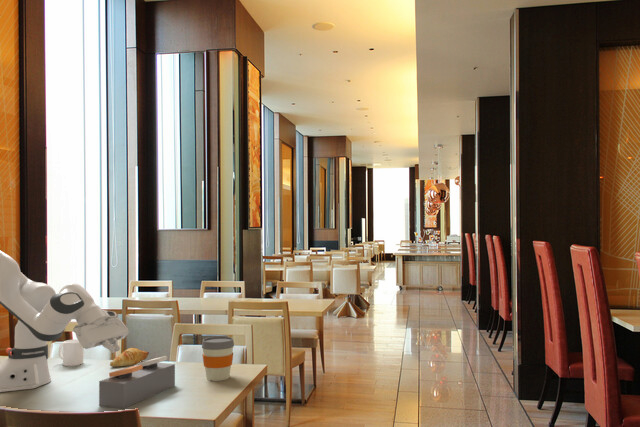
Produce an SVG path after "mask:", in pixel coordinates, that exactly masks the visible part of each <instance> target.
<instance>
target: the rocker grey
mask: <svg viewBox="0 0 640 427" xmlns="http://www.w3.org/2000/svg"><path fill="white" fill-rule="evenodd" d="M167 360H168V356H167V355H164V356H160V357H156V358H152V359H151V358H150V359H148V360H143V361H141V362H140V363H138V364H135V365H137V366H138V365H142V366H147V365H151V364H155V363H163V362H164V361H167Z"/></svg>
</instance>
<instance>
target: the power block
mask: <svg viewBox="0 0 640 427" xmlns="http://www.w3.org/2000/svg"><path fill="white" fill-rule="evenodd" d="M142 367H143V369H141V370H138V371H135V372H132V373H127V374H122V375H118V376H113V377H110V376H109V377H106V378H105V379H101V380H100V381H99V382H98V384H99V386H98V389H99V390H98V395H99V396H98V401H99V402H98V406H100V407H109V408H116V409H117V408H118V409H126V408H128V407H131V406H133V405H135V404H137V403H139V402H142V401H144V400H146V399H148V398H150V397H153V396H155V395H158V394H159V393H161V392H164V391H166V390H168V389H170V388H173V387H175V386H176V370H175V369H176V364H175V363H168V362H167V363H166V362H159V363H155V364H151V365H147V366H142Z"/></svg>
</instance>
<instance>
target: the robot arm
mask: <svg viewBox="0 0 640 427" xmlns="http://www.w3.org/2000/svg"><path fill="white" fill-rule="evenodd" d="M0 306H2V307H3V308H4V309H6V310H7V311H8V312H9V313H10V314H11V315H12V316H13V317H14V318H16V319H17V323H16V325H15V327H14V347H13V348H11V347H7V348H6V354H8V358H7V359H6V360H5V361H3V362H2V363H1V364H0V393H3V392H12V391H13V392H14V391H22V390H31V389H36V388H38V387H41V386H43V385H47V384H49V383H50V382H52V378H51V375H50V370H49V362H48V360H49V345H48V342H53V341H57V340H59V339H60V338H61V337H62V335H63V333H64V331H65V330H66V328H67V326H68V325H69V323H70V322H71V320H75V321H76V323H77V324H76V325H74V327H73V330H72V331H73V332H74V334H75V337H76V339H78V341H79V342H80V344H81V346H82V347H83V348H84V349H85V350H89V349H93V348H96V347H101V346H102V347H104V348H105V349H106V350H108V351H109V352H110V353H112V354H113V353H116V352H119V351H120V349H121V347H120V346H119V343H118V341H120V340H123V339H125V338H126V337H127V336H128V335H129V332H130V331H129V328H128V326H126V325H125V323H124V322H123V321H122V319H121V318H119V317H117V316H118V314H117V312H116V311H111V310H106V309H102V308H101V307H100V305H98V304H97V303H95V300H94V298H93V296H92V295H90V293H89V292H88V291H87V289H85V288H84V287H83V286H81V284H78V283H75V282H74V283H68V284H66V285H65V286H63V287H62V288H60V290H59V291H58V293H56V290H55V289H54V288H53V287H52V286H50V285H49V284H47V283H44V282H38V281H35V280H31V279H30V278H28V277H27V276H26V275H25V274H23V272H21V268H20V265H19V263H18V262H17V261H16V260H15V259H14V258H12V256H10V255H8V254H7V253H5V252H4V251H2V250H0Z"/></svg>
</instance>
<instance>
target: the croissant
mask: <svg viewBox="0 0 640 427" xmlns="http://www.w3.org/2000/svg"><path fill="white" fill-rule="evenodd" d="M149 354H150V353H149V351H146V350H145V351H144V350H141V349H139V348H138V347H129V348H126V349H124V350H123V351H122V352H121V353H120V354H118V356H117V357H115V358H113V361H110V363H109V366H110V367H112V368H116V367H117V368H118V367H128V366H129V367H130V366H134V365H136V364H138V363H140V361H141V362H143V361H145V359H147V358H148V356H149Z"/></svg>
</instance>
